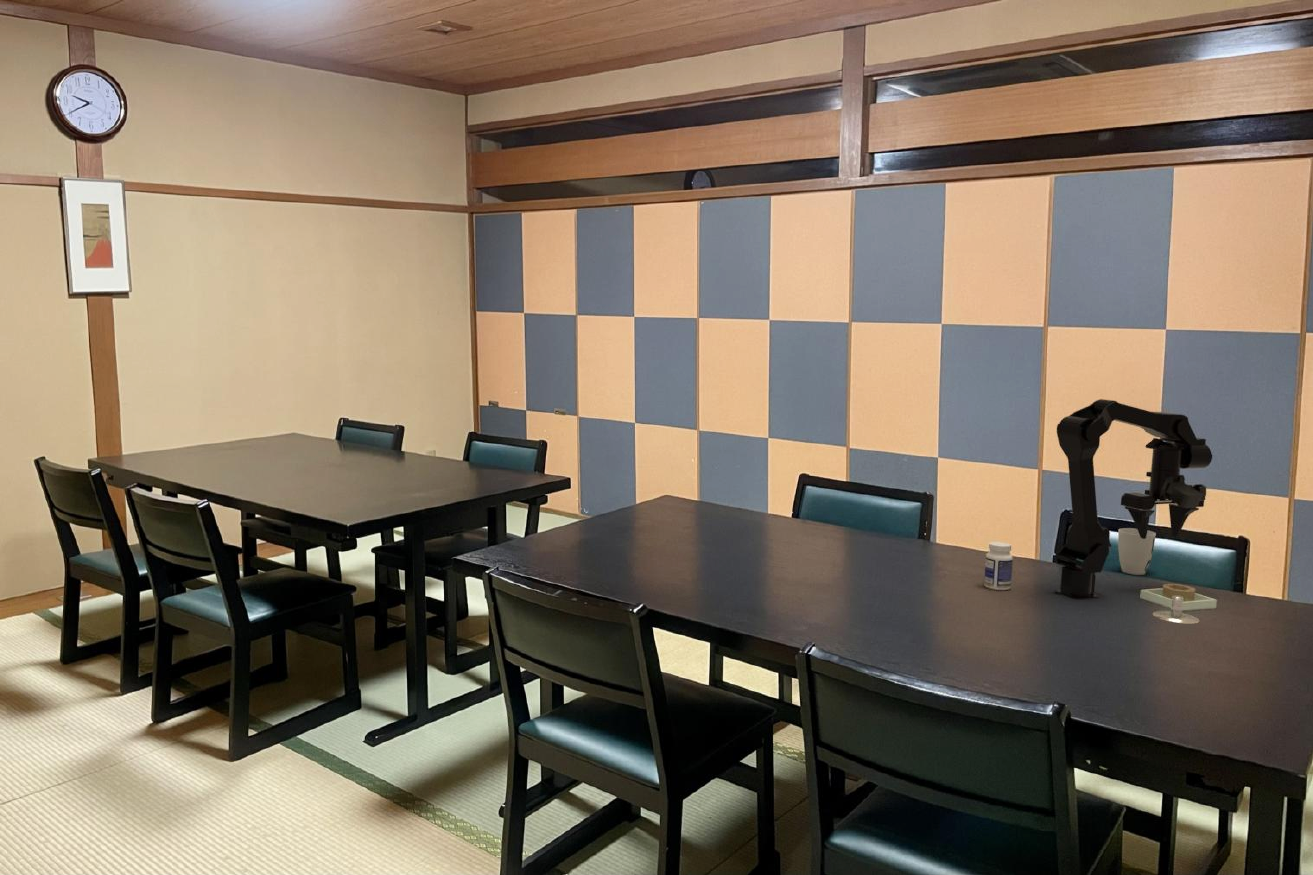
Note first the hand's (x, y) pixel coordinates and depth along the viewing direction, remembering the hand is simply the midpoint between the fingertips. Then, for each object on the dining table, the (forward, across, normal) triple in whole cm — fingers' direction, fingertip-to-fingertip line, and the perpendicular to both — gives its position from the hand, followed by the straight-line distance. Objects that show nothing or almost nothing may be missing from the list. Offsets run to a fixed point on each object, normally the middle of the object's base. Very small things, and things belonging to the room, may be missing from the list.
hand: (1159, 537), depth 221 cm
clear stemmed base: (+12, -14, -19) cm, 26 cm away
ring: (+11, -5, -11) cm, 17 cm away
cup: (+12, +8, +14) cm, 20 cm away
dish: (+12, -5, -11) cm, 17 cm away
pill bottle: (+12, -35, +10) cm, 38 cm away
